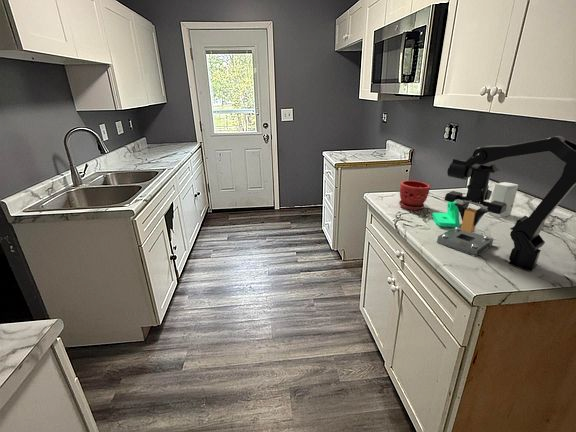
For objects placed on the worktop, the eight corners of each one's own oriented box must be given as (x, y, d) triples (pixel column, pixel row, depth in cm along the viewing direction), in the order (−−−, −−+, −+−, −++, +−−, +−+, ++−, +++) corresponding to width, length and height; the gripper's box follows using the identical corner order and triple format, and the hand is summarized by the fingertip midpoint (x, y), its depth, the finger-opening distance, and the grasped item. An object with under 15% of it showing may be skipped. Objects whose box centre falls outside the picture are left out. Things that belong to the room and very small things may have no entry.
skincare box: (499, 218, 141) (508, 186, 135) (486, 214, 146) (494, 183, 140) (510, 215, 144) (519, 184, 139) (497, 211, 149) (505, 180, 144)
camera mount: (431, 217, 142) (435, 196, 138) (448, 218, 141) (453, 197, 137) (438, 228, 131) (443, 205, 127) (458, 229, 130) (463, 206, 126)
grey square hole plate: (491, 244, 117) (494, 237, 116) (476, 256, 109) (478, 248, 107) (453, 232, 127) (455, 225, 126) (436, 242, 119) (438, 234, 117)
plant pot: (417, 213, 146) (421, 189, 141) (392, 206, 155) (395, 183, 151) (431, 207, 153) (435, 184, 149) (407, 200, 163) (410, 178, 158)
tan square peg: (474, 230, 115) (479, 210, 112) (470, 233, 113) (475, 212, 110) (464, 227, 118) (469, 207, 115) (460, 230, 116) (465, 209, 113)
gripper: (517, 184, 107) (506, 226, 113) (461, 173, 120) (453, 211, 126) (505, 190, 100) (494, 234, 106) (447, 178, 114) (440, 218, 119)
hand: (469, 223), depth 115 cm, fingers closed on tan square peg, 3 cm apart
